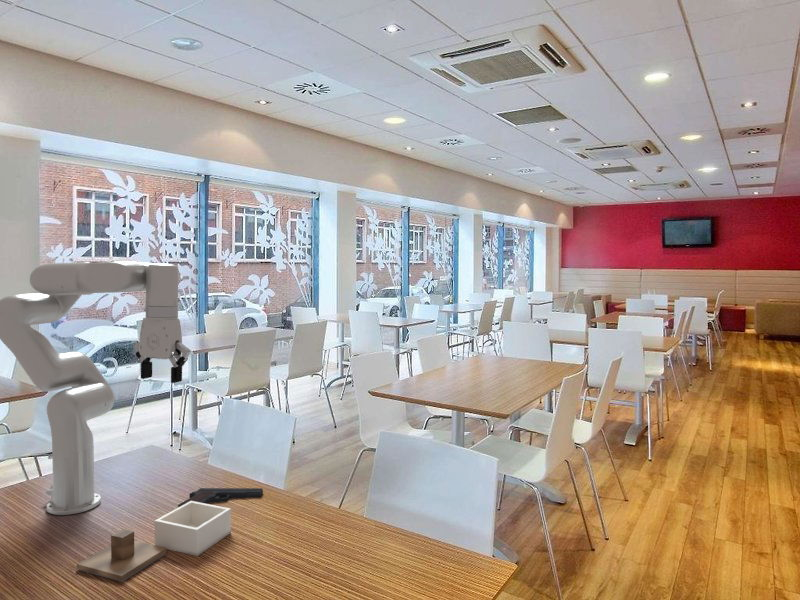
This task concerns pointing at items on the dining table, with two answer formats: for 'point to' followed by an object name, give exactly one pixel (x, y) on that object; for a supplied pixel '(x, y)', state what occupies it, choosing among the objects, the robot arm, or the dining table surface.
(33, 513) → the dining table surface
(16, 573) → the dining table surface
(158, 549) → the lid
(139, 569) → the mat
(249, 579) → the dining table surface
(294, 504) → the dining table surface
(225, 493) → the handgun
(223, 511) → the box
